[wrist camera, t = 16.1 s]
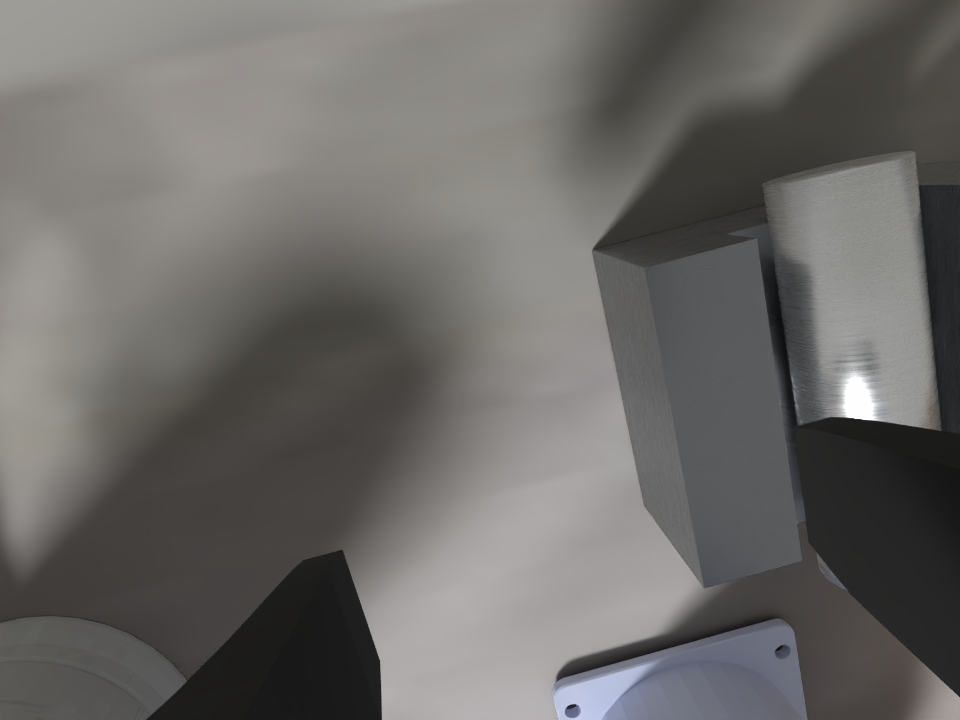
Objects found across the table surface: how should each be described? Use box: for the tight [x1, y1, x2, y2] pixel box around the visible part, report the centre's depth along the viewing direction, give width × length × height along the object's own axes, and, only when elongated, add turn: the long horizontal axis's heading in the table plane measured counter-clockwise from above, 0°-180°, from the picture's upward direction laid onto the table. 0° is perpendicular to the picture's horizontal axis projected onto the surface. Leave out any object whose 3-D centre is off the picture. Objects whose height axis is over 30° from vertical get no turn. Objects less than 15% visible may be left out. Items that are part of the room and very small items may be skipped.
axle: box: [763, 151, 941, 591], centre depth 16 cm, size 10×3×3 cm, turn 14°
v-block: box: [592, 162, 960, 588], centre depth 18 cm, size 8×10×4 cm
